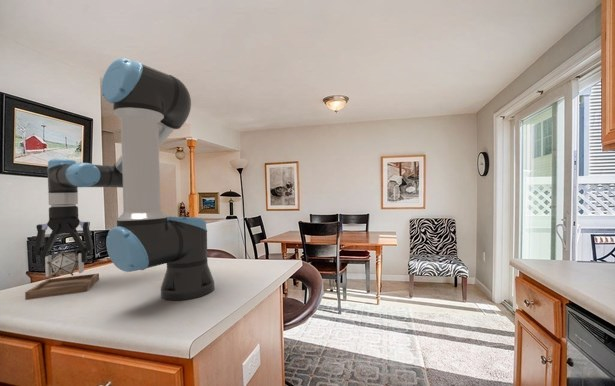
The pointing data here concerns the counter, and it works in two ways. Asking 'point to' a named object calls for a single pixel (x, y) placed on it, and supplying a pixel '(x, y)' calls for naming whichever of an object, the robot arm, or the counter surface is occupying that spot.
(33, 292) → the walnut tray
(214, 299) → the counter surface
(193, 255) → the robot arm
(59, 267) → the game die
